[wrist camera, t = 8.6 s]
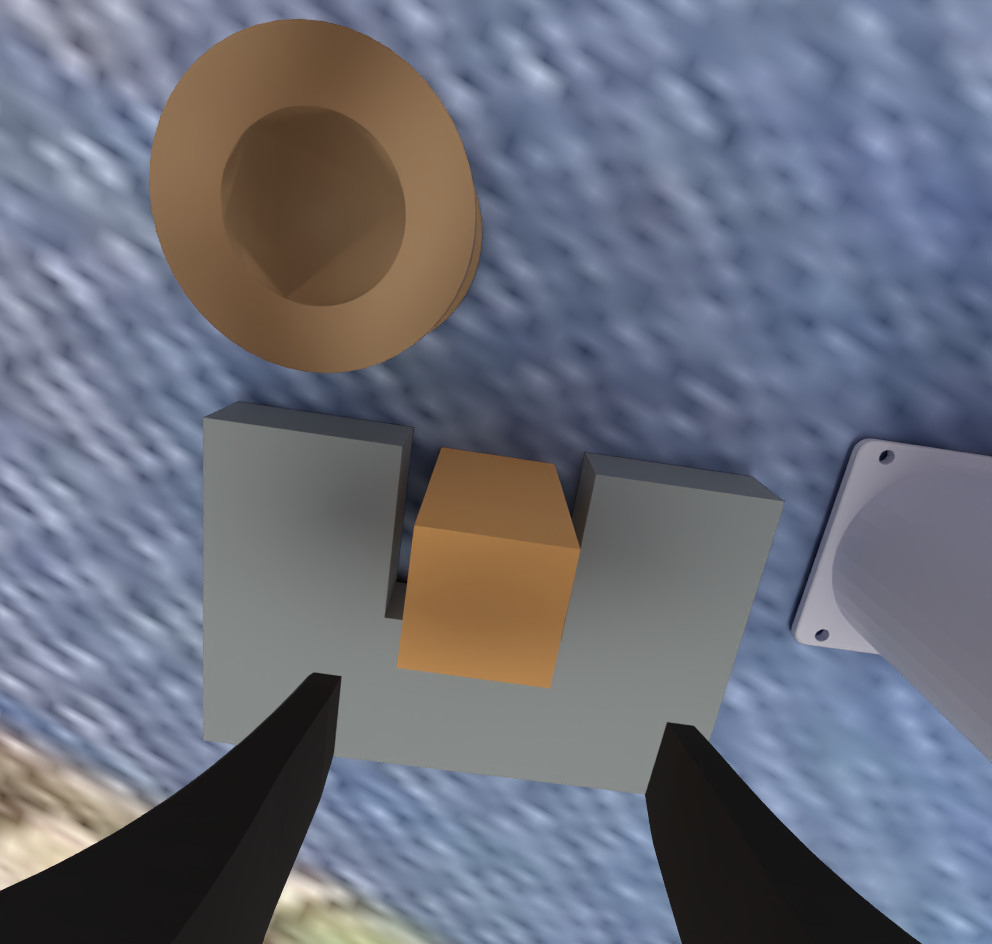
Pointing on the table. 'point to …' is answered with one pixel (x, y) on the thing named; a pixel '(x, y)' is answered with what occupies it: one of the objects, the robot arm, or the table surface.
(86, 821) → the table surface
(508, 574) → the orange rectangular block
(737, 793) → the robot arm
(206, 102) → the bobbin post
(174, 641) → the table surface
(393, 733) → the notched board
